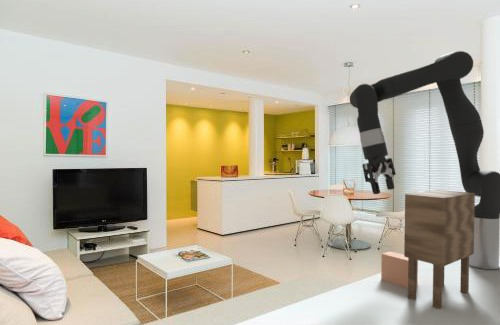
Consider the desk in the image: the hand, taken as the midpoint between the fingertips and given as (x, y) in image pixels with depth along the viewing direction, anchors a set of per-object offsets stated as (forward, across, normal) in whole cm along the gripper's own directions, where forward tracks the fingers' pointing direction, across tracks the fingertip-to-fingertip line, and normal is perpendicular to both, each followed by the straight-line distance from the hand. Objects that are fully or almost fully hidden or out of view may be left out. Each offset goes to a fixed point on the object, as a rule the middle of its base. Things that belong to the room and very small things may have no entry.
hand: (384, 191), depth 111 cm
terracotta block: (+27, -8, -4) cm, 28 cm away
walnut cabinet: (+29, -9, -15) cm, 34 cm away
